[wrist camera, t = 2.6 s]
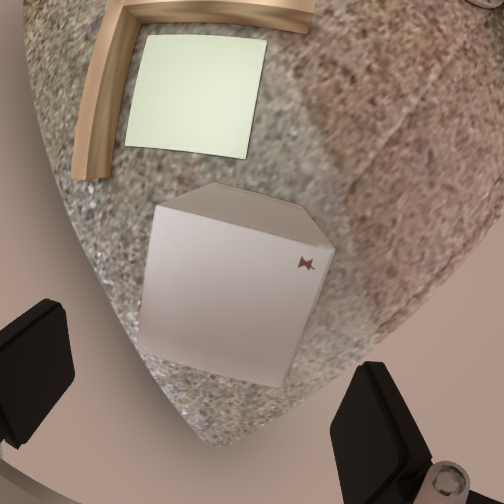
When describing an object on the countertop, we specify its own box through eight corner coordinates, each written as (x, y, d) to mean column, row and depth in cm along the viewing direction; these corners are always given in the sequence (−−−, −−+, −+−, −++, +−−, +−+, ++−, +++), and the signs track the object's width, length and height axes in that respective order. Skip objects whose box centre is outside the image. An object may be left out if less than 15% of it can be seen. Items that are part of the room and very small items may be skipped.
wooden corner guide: (309, 20, 19) (315, -2, 15) (278, 201, 23) (280, 208, 19) (130, 12, 19) (112, -6, 15) (96, 175, 23) (70, 178, 19)
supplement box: (212, 179, 23) (154, 195, 11) (304, 205, 23) (344, 248, 11) (191, 266, 25) (132, 352, 13) (277, 290, 25) (283, 394, 13)
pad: (267, 42, 20) (267, 41, 19) (245, 159, 22) (245, 159, 22) (149, 37, 20) (148, 35, 19) (126, 145, 22) (124, 145, 22)
